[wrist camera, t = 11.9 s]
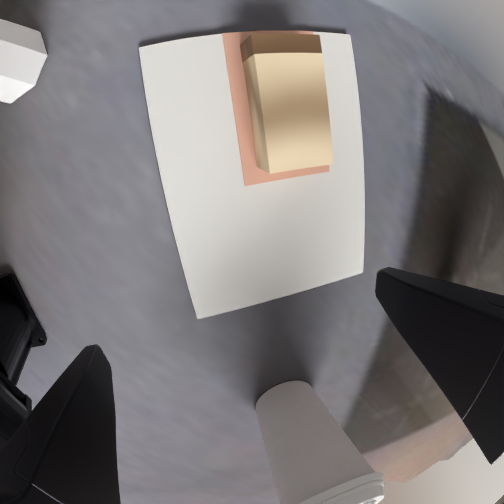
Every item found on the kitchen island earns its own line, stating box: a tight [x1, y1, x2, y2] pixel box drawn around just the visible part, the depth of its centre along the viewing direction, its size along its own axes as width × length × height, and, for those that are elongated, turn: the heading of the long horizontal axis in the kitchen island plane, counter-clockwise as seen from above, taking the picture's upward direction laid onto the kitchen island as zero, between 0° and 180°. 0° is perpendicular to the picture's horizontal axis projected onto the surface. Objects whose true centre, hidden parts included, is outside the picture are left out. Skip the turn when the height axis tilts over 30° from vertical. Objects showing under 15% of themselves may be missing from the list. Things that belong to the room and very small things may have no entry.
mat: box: [139, 31, 365, 319], centre depth 19 cm, size 19×14×1 cm
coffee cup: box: [255, 381, 384, 504], centre depth 23 cm, size 10×10×15 cm
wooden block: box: [240, 34, 333, 174], centre depth 16 cm, size 8×4×2 cm, turn 5°
